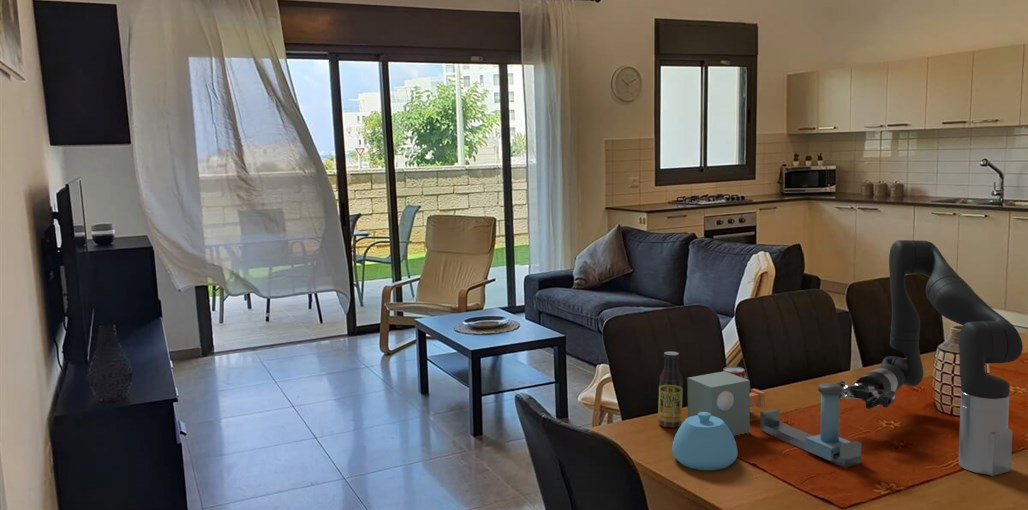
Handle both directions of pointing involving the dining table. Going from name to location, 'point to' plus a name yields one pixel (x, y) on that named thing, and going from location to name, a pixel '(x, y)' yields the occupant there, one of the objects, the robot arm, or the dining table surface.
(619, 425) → the dining table surface
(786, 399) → the dining table surface
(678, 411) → the sauce bottle
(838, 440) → the carriage
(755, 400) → the plunger
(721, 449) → the sugar bowl
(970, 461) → the robot arm
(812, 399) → the dining table surface
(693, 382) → the cabinet
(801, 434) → the rail
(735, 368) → the soda can
